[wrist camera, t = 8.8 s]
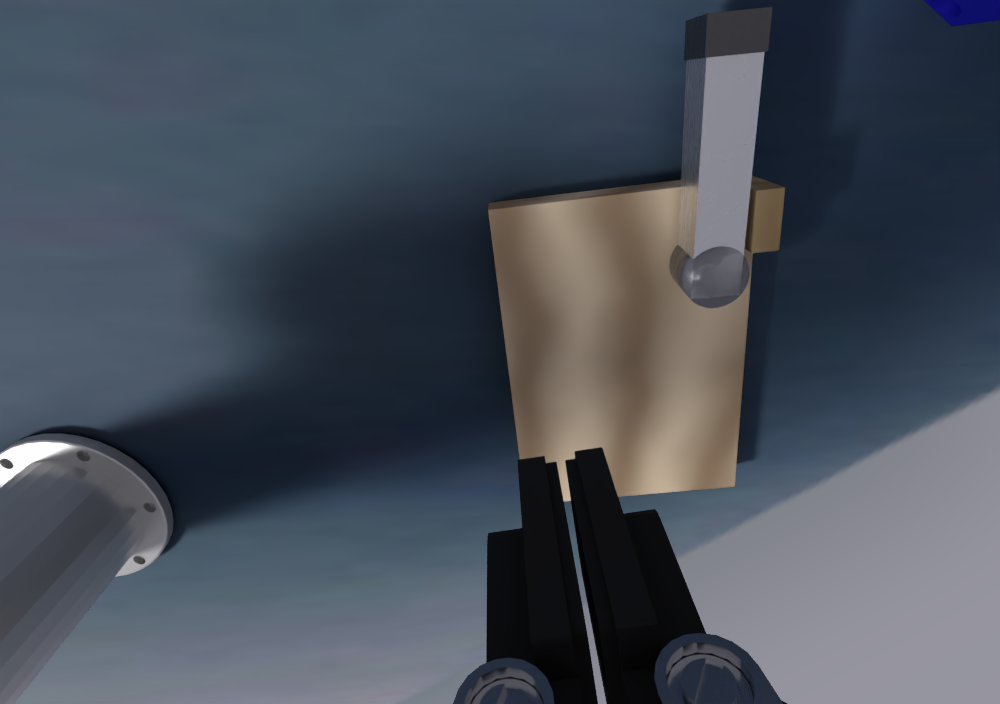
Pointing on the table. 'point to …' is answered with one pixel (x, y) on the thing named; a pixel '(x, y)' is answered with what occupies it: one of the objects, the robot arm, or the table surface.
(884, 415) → the table surface
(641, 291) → the stool seat
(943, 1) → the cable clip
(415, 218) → the table surface
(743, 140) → the folding leg
